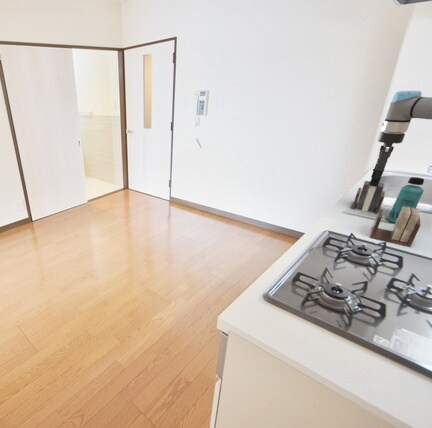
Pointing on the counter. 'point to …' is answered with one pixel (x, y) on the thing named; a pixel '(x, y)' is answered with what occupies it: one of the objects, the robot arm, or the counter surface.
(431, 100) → the robot arm
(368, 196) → the cream book
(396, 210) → the beverage bottle
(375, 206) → the grey rack
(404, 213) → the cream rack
